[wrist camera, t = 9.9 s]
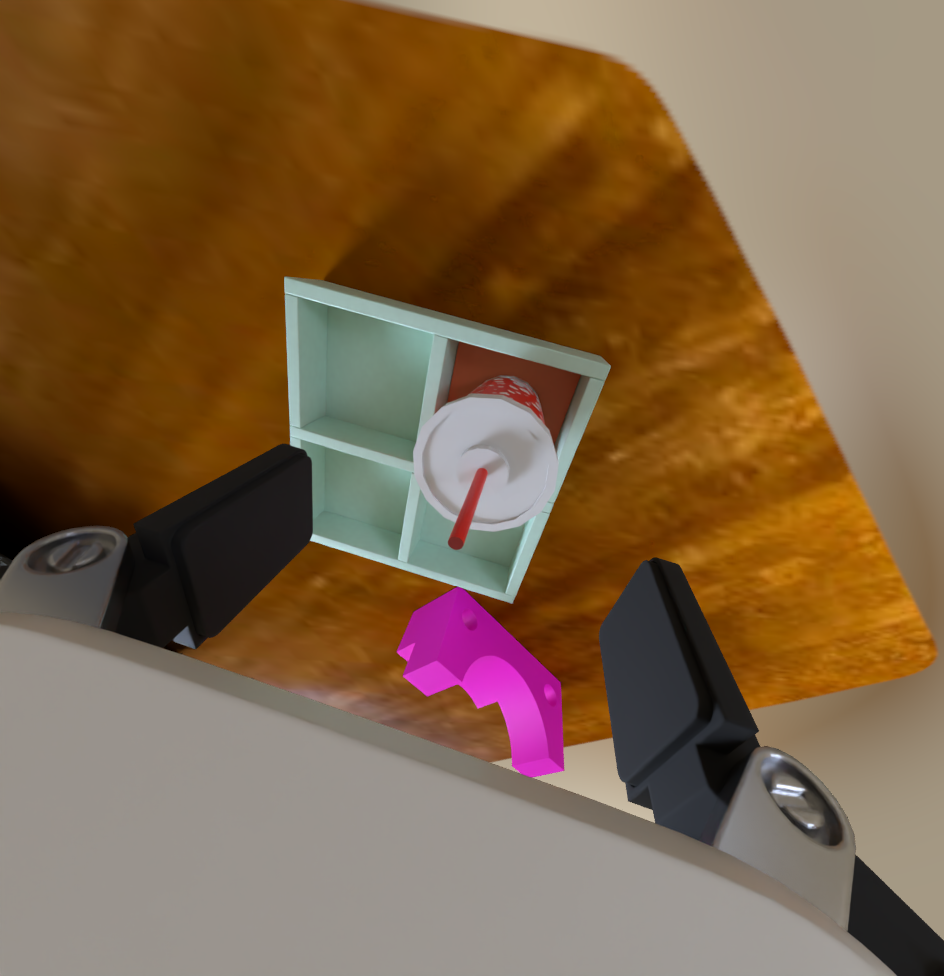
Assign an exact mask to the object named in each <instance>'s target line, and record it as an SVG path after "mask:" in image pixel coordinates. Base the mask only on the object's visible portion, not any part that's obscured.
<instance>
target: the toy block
mask: <svg viewBox="0 0 944 976" xmlns="http://www.w3.org/2000/svg"><path fill="white" fill-rule="evenodd" d="M397 653H398V654H399V655H401V656H402V657H403V658H404V659H405V660H406V661H408V663H407V666H406V669H405V671H404V674H403V677H404V678H406V679H407V680H408V681H409V682H410V683H412V684H413V685H414V686H415V687H417V688H418V689H419V690H420V691H421V692H423V693H424V694H425V695H426V696H429V695H432V694H434V693H437V692H439V691H442V690H444V689H447V688H449V687H452V686H454V685H457V684H459V685H460V686H461V687H462V688H464V690H465V691H466V692H467V693H468V694H469V695H470V697H471V698H472V699H473V701H474V703H475V704H476V706H477V708H480V707H483V706H486V705H489V704H491V703H494V702H497V701H498V703H499V705H500V708H501V710H502V712H503V715H504V718H505V721H506V724H507V728H508V732H509V737H510V743H511V751H512V766H513V767H514V768H515V769H516V770H518V771H519V772H520V773H521V774H523V775H526V776H528V777H531V778H532V777H536V776H541V775H546V774H550V773H556V772H560V771H564V754H563V728H562V703H561V682H560V681H558V680H557V679H556V678H555V677H554V676H553V675H552V674H551V673H550V672H549V671H548V670H547V669H546V668H545V667H544V666H543V665H542V664H541V663H540V662H539V661H538V660H537V659H536V658H535V657H534V656H532V655H531V654H530V653H529V652H528V651H527V650H526V649H525V648H524V647H523V646H522V645H521V644H520V643H519V642H518V641H517V640H516V639H515V638H514V637H513V636H512V635H511V634H510V633H509V632H508V631H506V630H505V629H504V628H503V627H502V626H501V625H500V624H499V623H498V622H497V621H496V620H495V619H494V618H493V617H492V616H491V615H490V614H489V613H488V612H487V611H486V610H485V609H484V608H483V607H482V606H480V605H479V604H478V603H477V602H476V601H475V600H474V599H473V598H472V597H471V596H470V595H469V594H468V593H467V592H466V591H465V590H464V589H463V588H461V587H456V588H454V589H452V590H451V591H449V592H447V593H445V594H444V595H442V596H440V597H439V598H437V599H435V600H433V601H432V602H430V603H428V604H426V605H425V606H423V607H421V608H419V609H418V610H416V611H414V612H413V615H412V617H411V619H410V622H409V624H408V626H407V629H406V631H405V633H404V636H403V638H402V640H401V643H400V645H399V647H398V650H397Z"/></svg>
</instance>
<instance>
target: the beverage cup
mask: <svg viewBox="0 0 944 976" xmlns="http://www.w3.org/2000/svg"><path fill="white" fill-rule="evenodd" d="M413 461H414V475H415V479H416V481H417V483H418V485H419V487H420V489H421V491H422V493H423V495H424V497H425V499H426V500H427V501H428V502H429V503H430V504H431V505H432V506H433V507H434V508H435V509H436V510H437V511H438V512H439V513H440V514H441V515H442V516H443V517H444V518H446V519H448V520H450V521H452V522H455V525H454V527H453V530H452V532H451V535H450V537H449V540H448V545H449V547H451V548H452V549H454V550H460V549H461V548H462V547H463V546H464V543H465V540H466V537H467V534H468V531H469V529H473V530H482V531H490V532H496V531H501V530H505V529H510V528H515V527H519V526H521V525H522V524H524V523H525V522H527V521H528V520H530V519H531V518H533V517H534V516H536V515H537V514H539V513H540V512H541V511H542V510H543V508H544V507H545V505H546V504H547V502H548V500H549V499H550V497H551V496H552V494H553V493H554V491H555V487H556V480H557V473H558V466H559V461H558V458H557V453H556V450H555V447H554V444H553V440H552V437H551V434H550V430H549V429H548V428H547V427H546V426H545V422H544V417H543V412H542V407H541V404H540V401H539V398H538V394H537V393H536V392H535V390H534V389H533V388H532V387H531V386H530V385H529V383H528V382H526V381H524V380H521V379H519V378H517V377H515V376H502V375H500V376H497V377H494V378H492V379H489V380H486V381H485V382H484V383H482V384H481V385H480V386H478V387H477V388H476V389H475V390H473V391H472V392H471V393H469V394H468V395H467V396H465V397H462V398H459V399H457V400H454V401H451V402H448V403H447V404H446V405H444V406H443V407H441V408H440V409H439V410H438V411H437V412H436V413H435V414H434V415H433V416H432V417H431V418H430V419H429V420H428V421H427V422H426V423H425V424H424V425H423V426H422V428H421V431H420V433H419V436H418V439H417V441H416V444H415V447H414V450H413Z"/></svg>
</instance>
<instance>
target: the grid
mask: <svg viewBox="0 0 944 976" xmlns="http://www.w3.org/2000/svg"><path fill="white" fill-rule="evenodd" d="M284 284H285V293H287V294H285V310H286V337H287V364H288V391H289V418H290V445H291V446H294V447H297V448H300V449H304V450H305V451H306V452H307V455H308V456H309V457H310V458H311V460H312V500H313V534H312V537H311V541H314V542H317V543H320V544H324V545H327V546H330V547H333V548H336V549H339V550H343V551H346V552H349V553H352V554H355V555H359V556H362V557H365V558H368V559H371V560H375V561H378V562H381V563H384V564H387V565H391V566H394V567H397V568H400V569H403V570H406V571H410V572H413V573H416V574H419V575H422V576H426V577H429V578H432V579H435V580H438V581H442V582H445V583H448V584H451V585H454V586H458V587H461V588H464V589H467V590H470V591H474V592H477V593H480V594H483V595H486V596H489V597H493V598H496V599H499V600H502V601H505V602H509V603H513V601H514V599H515V596H516V594H517V592H518V589H519V587H520V584H521V582H522V580H523V577H524V575H525V572H526V570H527V568H528V565H529V563H530V560H531V558H532V556H533V553H534V551H535V548H536V546H537V544H538V541H539V539H540V536H541V534H542V532H543V529H544V527H545V524H546V522H547V520H548V517H549V515H550V512H551V510H552V507H553V505H554V502H555V500H556V498H557V495H558V493H559V491H560V488H561V486H562V483H563V481H564V479H565V476H566V474H567V471H568V469H569V467H570V464H571V462H572V459H573V457H574V455H575V452H576V450H577V447H578V445H579V443H580V440H581V438H582V435H583V433H584V430H585V428H586V426H587V423H588V421H589V418H590V416H591V414H592V411H593V409H594V406H595V404H596V402H597V399H598V397H599V394H600V392H601V390H602V387H603V385H604V381H605V380H606V378H607V375H608V373H609V370H610V368H611V365H609V364H608V363H607V362H606V361H605V360H604V359H603V358H602V357H601V356H599V355H595V354H591V353H588V352H584V351H580V350H577V349H573V348H569V347H566V346H562V345H558V344H555V343H551V342H547V341H544V340H540V339H536V338H532V337H529V336H525V335H521V334H518V333H514V332H510V331H507V330H503V329H499V328H496V327H492V326H488V325H485V324H481V323H477V322H474V321H470V320H466V319H463V318H459V317H455V316H452V315H448V314H444V313H441V312H437V311H433V310H430V309H426V308H422V307H419V306H415V305H411V304H408V303H404V302H400V301H397V300H393V299H389V298H386V297H382V296H378V295H375V294H371V293H367V292H363V291H360V290H356V289H352V288H349V287H345V286H341V285H338V284H334V283H330V282H327V281H323V280H314V279H305V278H295V277H284ZM500 375H502V376H515V377H517V378H519V379H521V380H524V381H526V382H528V383H529V385H530V386H531V387H532V388H533V389H534V390H535V392H536V393H537V394H538V398H539V401H540V404H541V407H542V412H543V417H544V422H545V426H546V427H547V428H548V429H549V430H550V434H551V437H552V440H553V444H554V447H555V450H556V453H557V458H558V461H559V466H558V473H557V480H556V487H555V491H554V493H553V494H552V496H551V497H550V499H549V500H548V502H547V504H546V505H545V507H544V508H543V510H542V511H541V512H540V513H539V514H537V515H536V516H534V517H533V518H531V519H530V520H528V521H527V522H525V523H524V524H522V525H521V526H519V527H515V528H510V529H505V530H501V531H496V532H490V531H482V530H473V529H469V531H468V534H467V537H466V540H465V543H464V546H463V547H462V548H461V549H460V550H454V549H452V548H451V547H449V545H448V540H449V537H450V535H451V532H452V530H453V527H454V525H455V522H452V521H450V520H448V519H446V518H444V517H443V516H442V515H441V514H440V513H439V512H438V511H437V510H436V509H435V508H434V507H433V506H432V505H431V504H430V503H429V502H428V501H427V500H426V499H425V497H424V495H423V493H422V491H421V489H420V487H419V485H418V483H417V481H416V479H415V475H414V461H413V450H414V447H415V444H416V441H417V439H418V436H419V433H420V431H421V428H422V426H423V425H424V424H425V423H426V422H427V421H428V420H429V419H430V418H431V417H432V416H433V415H434V414H435V413H436V412H437V411H438V410H439V409H440V408H441V407H443V406H444V405H446V404H447V403H448V402H451V401H454V400H457V399H459V398H462V397H465V396H467V395H468V394H469V393H471V392H472V391H473V390H475V389H476V388H477V387H478V386H480V385H481V384H482V383H484V382H485V381H486V380H489V379H492V378H494V377H497V376H500Z"/></svg>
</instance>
